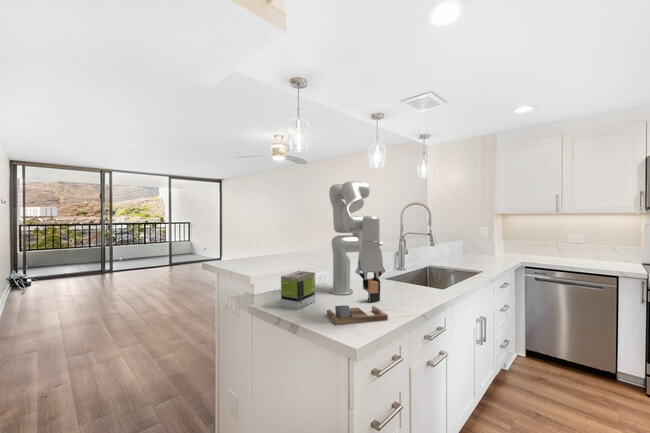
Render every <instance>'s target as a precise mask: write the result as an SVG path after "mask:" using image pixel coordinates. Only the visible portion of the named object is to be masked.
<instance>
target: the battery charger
mask: <svg viewBox="0 0 650 433" xmlns="http://www.w3.org/2000/svg"><path fill="white" fill-rule="evenodd" d="M373 278H374V277H371V279H373ZM367 294H368V296H367V302H369V303H375V302H379V301H381V279H380V278H379V279H378V293H371V294H370V293H369V292H367Z"/></svg>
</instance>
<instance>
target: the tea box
mask: <svg viewBox="0 0 650 433" xmlns="http://www.w3.org/2000/svg"><path fill="white" fill-rule="evenodd" d="M315 276H316V273H315V272H313V271H303V270H296V271H293V272H290V273H287V274H284V275H281V276H280V291H281V294H280V295H281V296H280V302H281V303H280V304H281V307H282V306H283V307H284V308H287V307H288V308H287V309H293V310H300V309H302V308H304V307H306V306H308V305H310V304H312V303H315V302H316V277H315Z"/></svg>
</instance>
